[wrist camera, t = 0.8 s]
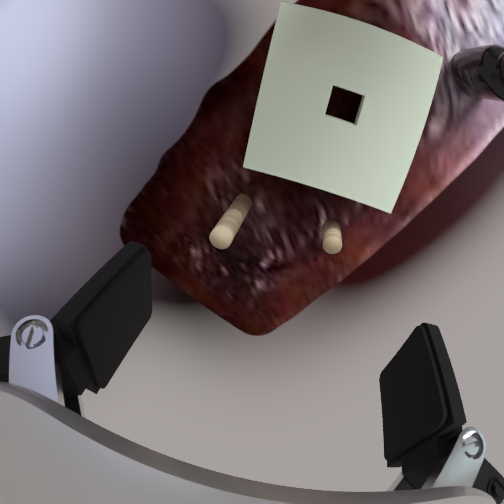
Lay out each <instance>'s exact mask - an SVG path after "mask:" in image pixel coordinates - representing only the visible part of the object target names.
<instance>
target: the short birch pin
mask: <svg viewBox="0 0 504 504" xmlns="http://www.w3.org/2000/svg"><path fill="white" fill-rule="evenodd" d="M323 248H324V250H325V251H326V252H327V253H330V254H335V253H338V252H339V251H340V250H341V248H342V239H341V229H340V224H339V223H338V222H337V221H335V220H328V221H326V222H325V223H324V225H323Z"/></svg>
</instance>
